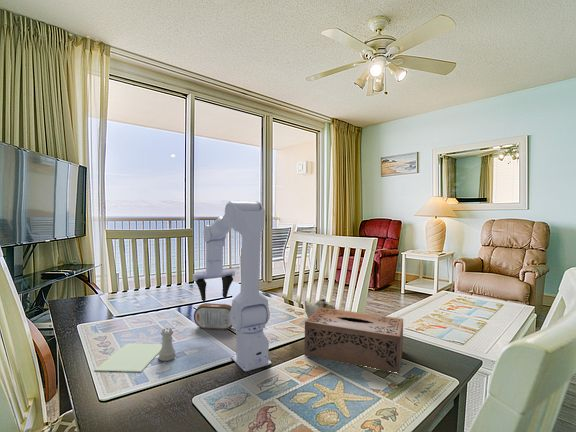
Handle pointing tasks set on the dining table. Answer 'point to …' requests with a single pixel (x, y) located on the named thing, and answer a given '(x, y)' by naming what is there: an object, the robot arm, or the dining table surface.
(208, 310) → the tin
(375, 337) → the tissue box cover
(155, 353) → the mat
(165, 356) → the rook chess piece
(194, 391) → the dining table surface
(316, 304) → the ceramic sculpture
